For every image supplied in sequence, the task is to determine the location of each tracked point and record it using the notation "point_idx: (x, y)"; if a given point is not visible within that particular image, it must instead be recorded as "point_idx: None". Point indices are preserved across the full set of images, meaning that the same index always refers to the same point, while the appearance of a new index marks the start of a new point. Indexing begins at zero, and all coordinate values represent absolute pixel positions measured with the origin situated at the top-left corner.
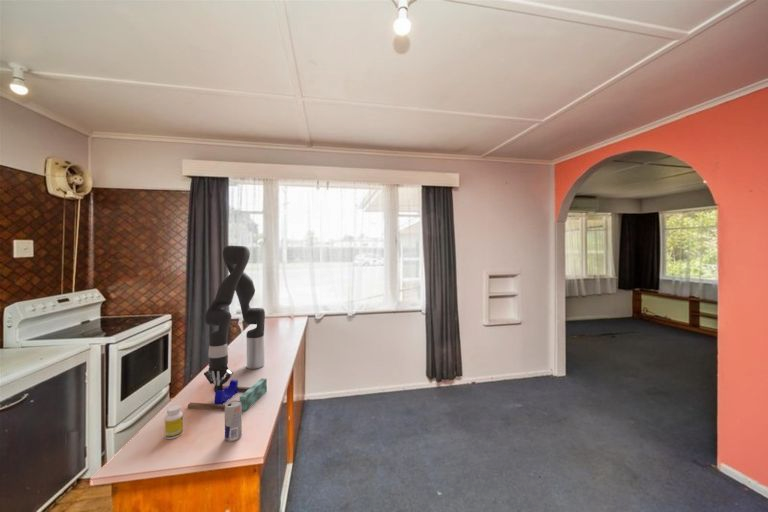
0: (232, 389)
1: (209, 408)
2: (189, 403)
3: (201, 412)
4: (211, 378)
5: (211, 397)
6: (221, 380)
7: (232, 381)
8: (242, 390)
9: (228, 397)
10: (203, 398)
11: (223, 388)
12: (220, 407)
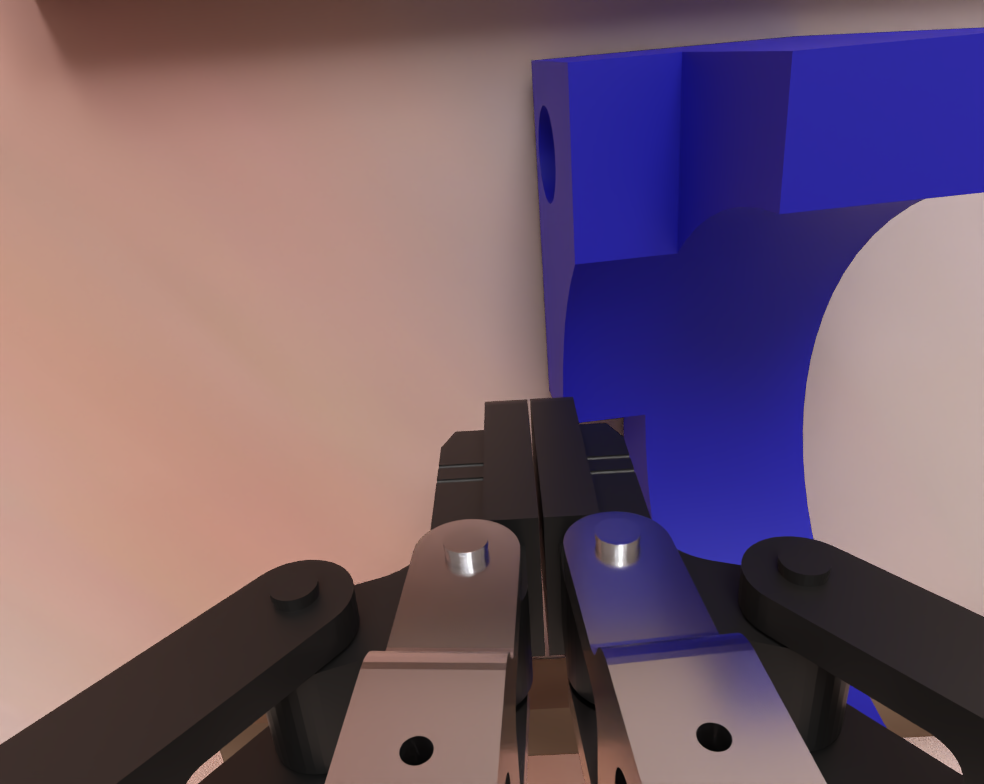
0: (824, 244)
1: None
2: (226, 749)
3: (565, 773)
4: (147, 707)
5: (328, 365)
6: (637, 630)
7: (881, 199)
8: None
9: (794, 421)
10: (200, 429)
11: None
12: None
